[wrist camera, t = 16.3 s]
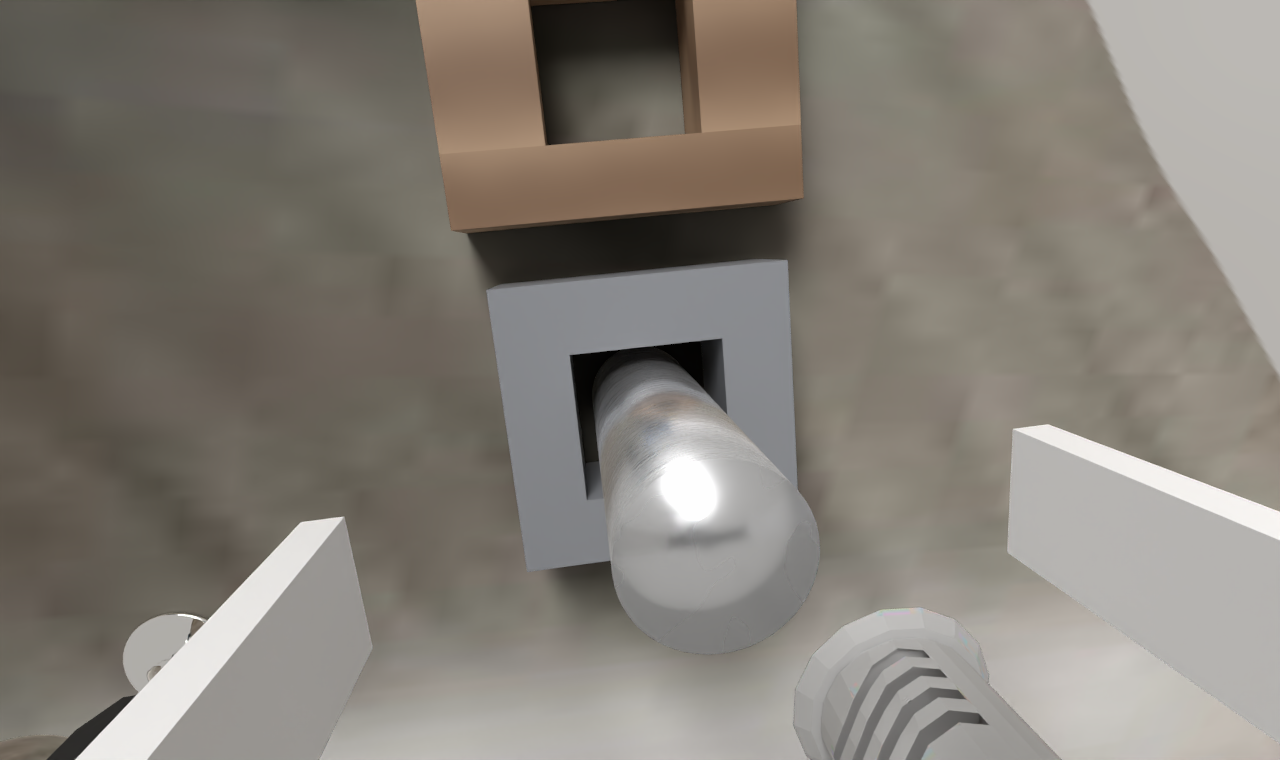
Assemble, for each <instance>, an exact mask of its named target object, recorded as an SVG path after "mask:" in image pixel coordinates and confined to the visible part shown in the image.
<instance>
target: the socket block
mask: <svg viewBox="0 0 1280 760" xmlns="http://www.w3.org/2000/svg"><path fill="white" fill-rule="evenodd" d="M600 1H615V0H416V6H417V12H418V19H419V25H420V32H421V38H422V45H423V51H424V58H425V64H426V71H427V77H428V84H429V90H430V97H431V103H432V110H433V116H434V123H435V129H436V136H437V142H438V149H439V155H440V162H441V168H442V175H443V181H444V188H445V194H446V201H447V207H448V214H449V220H450V227H451V231H456V232H462V233H476V232H487V231H497V230H508V229H519V228H530V227H541V226H551V225H562V224H573V223H584V222H595V221H605V220H616V219H627V218H638V217H649V216H659V215H670V214H681V213H692V212H703V211H713V210H724V209H735V208H746V207H757V206H767V205H777V204H781V203H785V202H790V201H794V200H798V199H802V198H804V196H803V169H802V142H801V115H800V88H799V61H798V35H797V8H796V0H675V4H676V18H677V31H678V45H679V58H680V72H681V85H682V98H683V112H684V125H685V134H680V135H668V136H655V137H643V138H631V139H619V140H607V141H595V142H582V143H570V144H558V145H547V138H546V129H545V121H544V112H543V104H542V95H541V87H540V79H539V70H538V62H537V53H536V45H535V37H534V28H533V20H532V11H531V6H537V5H553V4H569V3H584V2H600Z"/></svg>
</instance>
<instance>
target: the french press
mask: <svg viewBox="0 0 1280 760" xmlns="http://www.w3.org/2000/svg"><path fill="white" fill-rule="evenodd" d="M988 680H989V673H988V670H987V667H986V664H985V661H984V658H983V655H982V652H981V648H980V645H979V643H978V642H977V641H976V640H975V639H974V638H973V637H972V636H971V635H970V634H969V633H968V632H967V631H966V630H965V629H964V628H963V627H962V626H961V625H960V624H959V623H958V622H957V621H956V620H955V619H953V618H950V617H947V616H944V615H941V614H938V613H935V612H933V611H930V610H927V609H924V608H921V607H916V608H900V609H883V610H879V611H877V612H874V613H872V614H870V615H867V616H865V617H863V618H861V619H858V620H856V621H854V622H851V623H849V624H847V625H845V626H843V627H841V628H840V629H839V630H838V631H837V632H836V633H835V634H834V635H833V636H832V637H831V638H830V639H829V640H828V641H826V642H825V643H824V644H823V645H822V646H821V647H820V648H819V649H818V650H817V651H816V652H815V653H814V654H813V655H812V657H811V659H810V661H809V663H808V665H807V667H806V669H805V671H804V673H803V675H802V677H801V679H800V681H799V683H798V685H797V687H796V689H795V703H794V721H793V725H794V728H795V730H796V733H797V735H798V737H799V740H800V742H801V744H802V747H803V749H804V752H805V754H806V756H807V757H808V758H810V759H811V760H1061V759H1060V758H1059V757H1058V755H1057V754H1056V753H1055V752H1054V751H1053V750H1052V749H1051V748H1050V747H1049V746H1048V745H1047V744H1046V743H1045V742H1044V741H1043V740H1042V739H1041V738H1040V737H1039V736H1038V735H1037V734H1036V733H1035V732H1034V731H1033V730H1032V728H1031V727H1030V726H1029V725H1028V724H1027V723H1026V722H1025V721H1024V720H1023V719H1022V718H1021V717H1020V716H1019V715H1018V714H1017V713H1016V712H1015V711H1014V710H1013V709H1012V708H1011V707H1010V706H1009V705H1008V704H1007V702H1006V701H1005V700H1004V699H1003V698H1002V697H1001V696H1000V695H999V694H998V693H997V692H996V691H995V690H994V689H993V688H992V687H991V686H990V685H989V684H988Z"/></svg>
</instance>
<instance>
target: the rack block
mask: <svg viewBox="0 0 1280 760" xmlns="http://www.w3.org/2000/svg"><path fill="white" fill-rule="evenodd" d="M486 291H487V298H488V305H489V312H490V319H491V326H492V333H493V340H494V347H495V353H496V360H497V367H498V374H499V381H500V388H501V395H502V402H503V408H504V415H505V422H506V429H507V436H508V443H509V450H510V457H511V464H512V470H513V477H514V484H515V491H516V498H517V505H518V512H519V519H520V526H521V532H522V539H523V546H524V553H525V560H526V567H527V572H531V571H538V570H545V569H553V568H560V567H567V566H575V565H582V564H589V563H597V562H604V561H611V560H610V551H609V542H608V533H607V525H606V516H605V507H604V498H603V489H602V481H601V472H600V463H599V461H596V462H588V463H585V457H584V449H583V440H582V432H581V424H580V415H579V407H578V398H577V390H576V382H575V373H574V365H573V356H572V355H575V354H584V353H593V352H602V351H611V350H621V349H630V348H639V347H648V346H657V345H666V344H675V343H684V342H694V341H701V354H702V367H703V381H704V390H705V392H706V393H707V394H708V395H709V396H710V397H711V398H712V399H713V400H714V401H715V402H716V403H717V404H718V405H719V406H720V408H721V409H722V410H723V411H724V412H725V413H726V414H727V415H728V416H729V417H730V418H731V419H732V420H733V421H734V423H735V424H736V425H737V426H738V427H739V428H740V429H741V430H742V431H743V432H744V433H745V434H746V435H747V436H748V438H749V439H750V440H751V441H752V442H753V443H754V444H755V445H756V446H757V447H758V448H759V449H760V450H761V451H762V453H763V454H764V455H765V456H766V457H767V458H768V459H769V460H770V461H771V462H772V463H773V464H774V465H775V466H776V468H777V469H778V470H779V471H780V472H781V473H782V474H783V475H784V476H785V477H786V478H787V479H788V480H789V481H790V483H791V484H792V485H793V486H794V487H795V488H796V489H797V490H798V487H797V464H796V441H795V418H794V395H793V372H792V348H791V325H790V302H789V279H788V260H773V259H747V260H737V261H727V262H717V263H707V264H697V265H687V266H677V267H667V268H657V269H647V270H637V271H627V272H617V273H607V274H597V275H587V276H577V277H566V278H556V279H546V280H536V281H526V282H516V283H506V284H500V285H497V286H495V287H493V288H490V289H488V290H486Z"/></svg>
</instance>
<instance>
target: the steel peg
mask: <svg viewBox="0 0 1280 760" xmlns="http://www.w3.org/2000/svg"><path fill="white" fill-rule="evenodd" d="M592 402H593V410H594V419H595V428H596V437H597V446H598V454H599V463H600V472H601V481H602V489H603V498H604V507H605V516H606V525H607V533H608V542H609V551H610V560H611V568H612V576H613V582H614V587H615V590H616V593H617V596H618V599H619V601H620V603H621V605H622V607H623V608H624V610H625V612H626V613H627V615H628V616H629V617H630V619H631V620H632V621H633V622H634V623H635V624H636V625H637V627H638V628H639V629H640V630H642V631H643V632H644V633H645V634H647V635H648V636H649V637H651V638H652V639H654V640H656V641H657V642H659V643H661V644H663V645H665V646H668V647H670V648H672V649H676V650H679V651H683V652H687V653H694V654H722V653H728V652H733V651H738V650H741V649H744V648H747V647H750V646H752V645H754V644H756V643H758V642H760V641H762V640H764V639H766V638H767V637H769V636H771V635H772V634H774V633H775V632H776V631H778V630H779V629H780V628H781V627H783V626H784V625H785V624H786V623H787V622H788V621H789V620H790V619H791V618H792V617H793V616H794V615H795V614H796V612H797V611H798V610H799V609H800V607H801V606H802V604H803V603H804V601H805V600H806V598H807V596H808V595H809V592H810V590H811V588H812V586H813V584H814V581H815V577H816V574H817V571H818V565H819V559H820V541H819V532H818V529H817V525H816V521H815V518H814V516H813V514H812V511H811V509H810V507H809V506H808V504H807V502H806V501H805V499H804V498H803V496H802V495H801V494H800V493H799V491H798V490H797V489H796V488H795V487H794V486H793V485H792V484H791V483H790V481H789V480H788V479H787V478H786V477H785V476H784V475H783V474H782V473H781V472H780V471H779V470H778V469H777V468H776V466H775V465H774V464H773V463H772V462H771V461H770V460H769V459H768V458H767V457H766V456H765V455H764V454H763V453H762V451H761V450H760V449H759V448H758V447H757V446H756V445H755V444H754V443H753V442H752V441H751V440H750V439H749V438H748V436H747V435H746V434H745V433H744V432H743V431H742V430H741V429H740V428H739V427H738V426H737V425H736V424H735V423H734V421H733V420H732V419H731V418H730V417H729V416H728V415H727V414H726V413H725V412H724V411H723V410H722V409H721V408H720V406H719V405H718V404H717V403H716V402H715V401H714V400H713V399H712V398H711V397H710V396H709V395H708V394H707V393H706V392H705V390H704V389H703V388H702V387H701V386H700V385H699V384H698V383H697V382H696V381H695V380H694V379H693V378H692V377H691V375H690V374H689V373H688V372H687V371H686V370H685V369H684V368H683V367H682V366H681V365H680V364H679V363H678V362H677V361H676V360H675V359H674V358H673V357H672V356H671V355H669V354H668V353H666V352H664V351H662V350H660V349H657V348H654V347H650V346H648V347H639V348H630V349H623V350H621V351H619V352H617V353H615V354H614V355H612V356H611V357H610V358H609V359H607V361H606V362H605V363H604V364H603V365H602V366H601V368H600V369H599V371H598V373H597V375H596V377H595V380H594V383H593V388H592Z"/></svg>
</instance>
